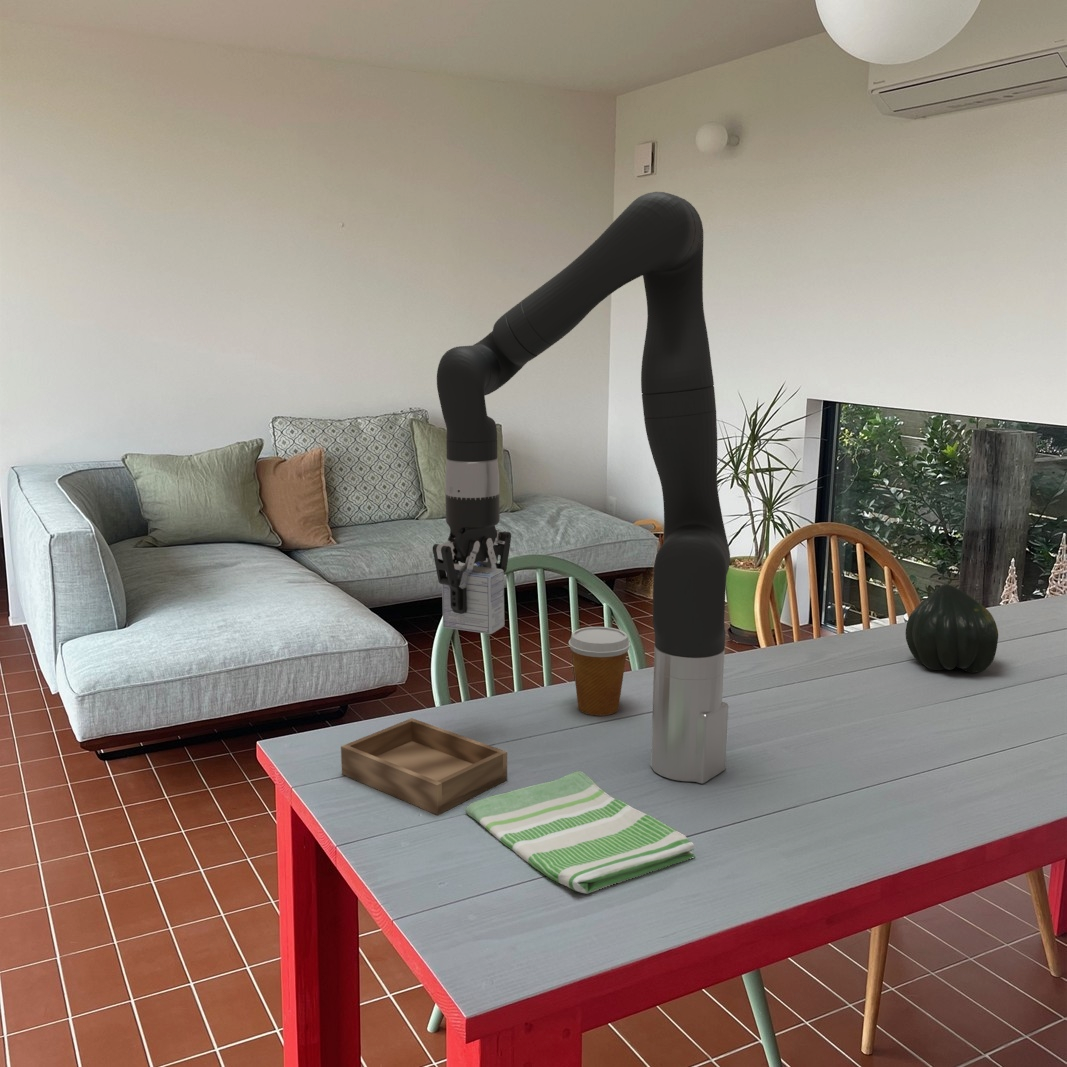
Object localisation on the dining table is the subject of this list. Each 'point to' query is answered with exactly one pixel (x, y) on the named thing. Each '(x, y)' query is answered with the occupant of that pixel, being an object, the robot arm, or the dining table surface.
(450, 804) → the tray
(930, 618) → the squash
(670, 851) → the dish towel
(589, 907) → the dining table surface
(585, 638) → the disposable coffee cup
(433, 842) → the dining table surface
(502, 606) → the medicine box
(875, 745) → the dining table surface
